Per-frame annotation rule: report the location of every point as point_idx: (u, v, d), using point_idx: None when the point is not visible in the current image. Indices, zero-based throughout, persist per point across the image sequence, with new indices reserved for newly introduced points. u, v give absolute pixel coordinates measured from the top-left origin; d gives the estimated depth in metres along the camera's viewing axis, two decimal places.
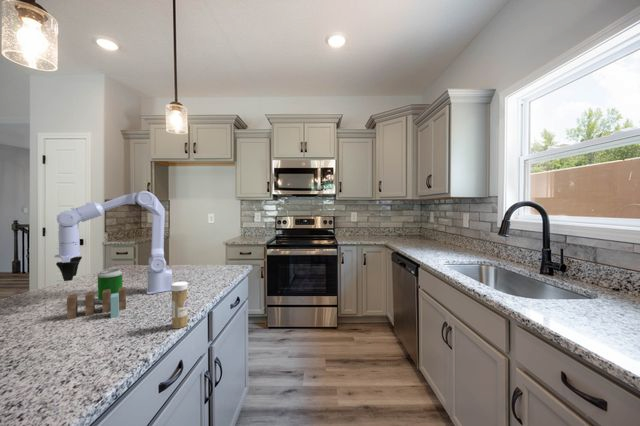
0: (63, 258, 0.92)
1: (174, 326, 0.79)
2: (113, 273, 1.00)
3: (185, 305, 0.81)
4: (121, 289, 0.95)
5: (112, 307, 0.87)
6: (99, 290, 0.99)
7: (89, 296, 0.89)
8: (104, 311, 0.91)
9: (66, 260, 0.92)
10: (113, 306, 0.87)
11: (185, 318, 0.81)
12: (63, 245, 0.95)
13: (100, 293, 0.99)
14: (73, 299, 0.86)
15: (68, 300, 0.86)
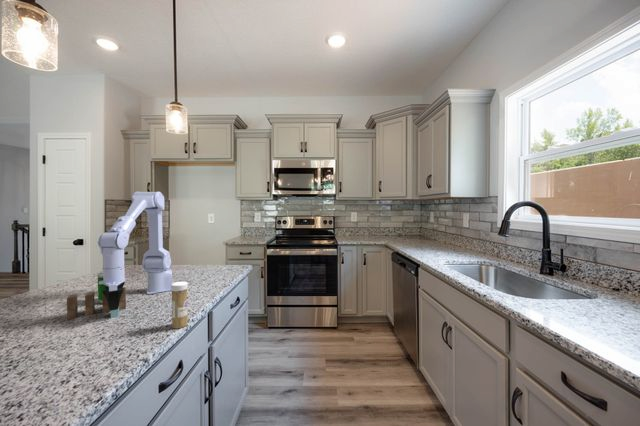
0: (110, 286, 0.83)
1: (174, 326, 0.79)
2: None
3: (185, 305, 0.81)
4: None
5: None
6: (99, 290, 0.99)
7: (89, 296, 0.89)
8: (104, 311, 0.91)
9: (113, 288, 0.83)
10: None
11: (185, 318, 0.81)
12: (109, 270, 0.86)
13: (100, 293, 0.99)
14: (73, 299, 0.86)
15: (68, 300, 0.86)
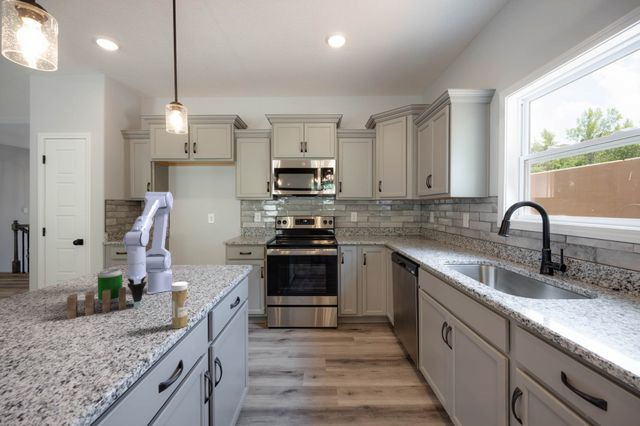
0: (135, 280, 0.92)
1: (174, 326, 0.79)
2: (113, 273, 1.00)
3: (185, 305, 0.81)
4: (121, 289, 0.95)
5: None
6: (99, 290, 0.99)
7: (89, 296, 0.89)
8: (104, 311, 0.91)
9: (137, 281, 0.93)
10: None
11: (185, 318, 0.81)
12: (132, 265, 0.95)
13: (100, 293, 0.99)
14: (73, 299, 0.86)
15: (68, 300, 0.86)
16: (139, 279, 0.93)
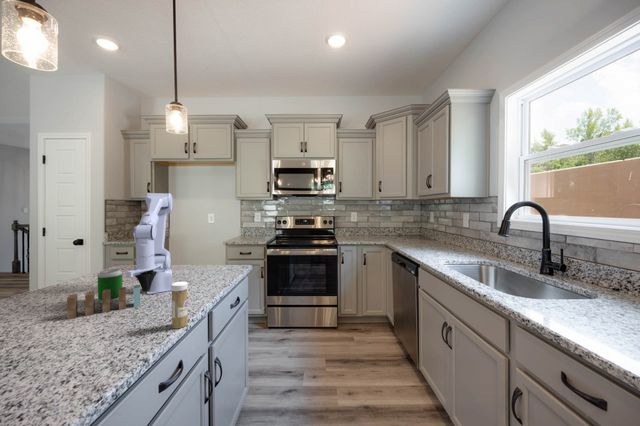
0: (127, 272, 0.93)
1: (174, 326, 0.79)
2: (113, 273, 1.00)
3: (185, 305, 0.81)
4: (121, 289, 0.95)
5: (135, 297, 0.96)
6: (99, 290, 0.99)
7: (89, 296, 0.89)
8: (104, 311, 0.91)
9: (128, 275, 0.93)
10: (135, 296, 0.96)
11: (185, 318, 0.81)
12: (137, 258, 0.97)
13: (100, 293, 0.99)
14: (73, 299, 0.86)
15: (68, 300, 0.86)
16: (130, 273, 0.93)
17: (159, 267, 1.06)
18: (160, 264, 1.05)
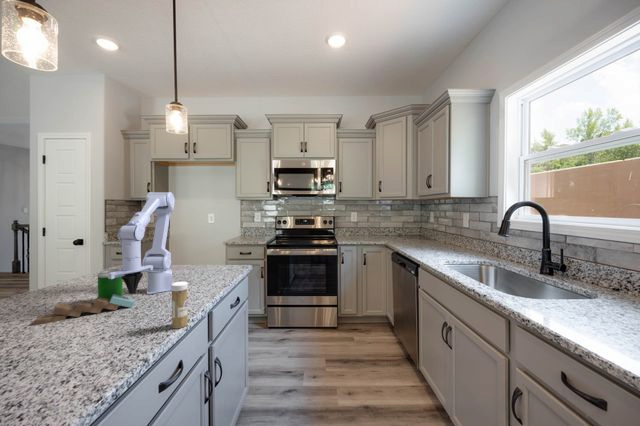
0: (108, 274, 0.91)
1: (174, 326, 0.79)
2: None
3: (185, 305, 0.81)
4: (94, 302, 0.91)
5: (121, 304, 0.94)
6: (99, 290, 0.99)
7: (55, 310, 0.84)
8: (98, 311, 0.90)
9: (109, 276, 0.91)
10: (120, 303, 0.94)
11: (185, 318, 0.81)
12: (122, 259, 0.95)
13: (100, 293, 0.99)
14: (37, 321, 0.82)
15: None
16: (110, 274, 0.91)
17: (149, 269, 1.03)
18: (149, 266, 1.02)
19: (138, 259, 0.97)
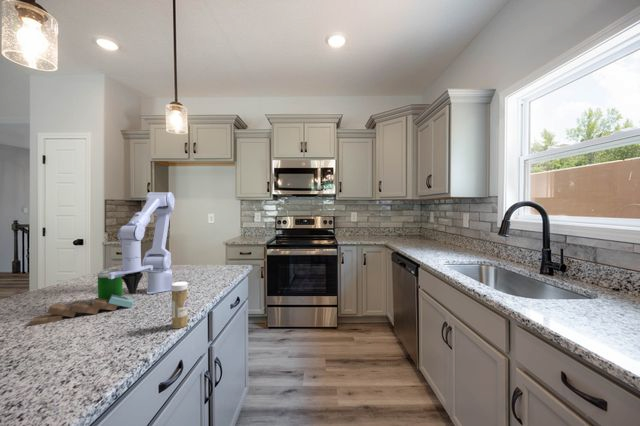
0: (108, 274, 0.91)
1: (174, 326, 0.79)
2: None
3: (185, 305, 0.81)
4: (93, 303, 0.91)
5: (120, 304, 0.94)
6: (99, 290, 0.99)
7: (50, 310, 0.84)
8: (95, 312, 0.90)
9: (109, 276, 0.91)
10: (119, 303, 0.94)
11: (185, 318, 0.81)
12: (122, 259, 0.95)
13: (100, 293, 0.99)
14: (33, 322, 0.81)
15: None
16: (110, 274, 0.91)
17: (149, 269, 1.03)
18: (149, 266, 1.02)
19: (138, 259, 0.97)
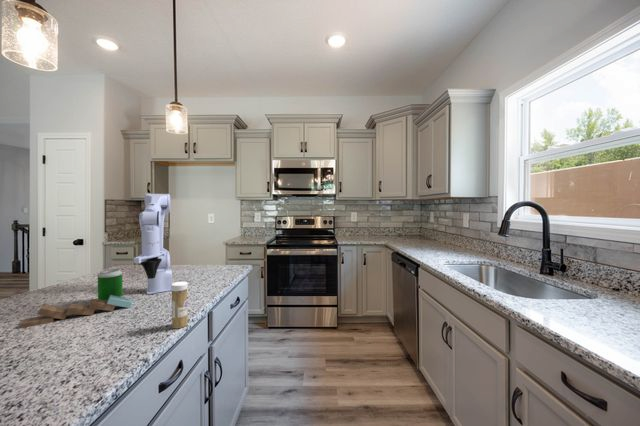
0: (134, 259, 0.92)
1: (174, 326, 0.79)
2: (113, 273, 1.00)
3: (185, 305, 0.81)
4: (90, 304, 0.90)
5: (118, 304, 0.94)
6: (99, 290, 0.99)
7: (40, 311, 0.82)
8: (91, 313, 0.89)
9: (136, 261, 0.92)
10: (117, 304, 0.94)
11: (185, 318, 0.81)
12: (142, 245, 0.97)
13: (100, 293, 0.99)
14: (23, 324, 0.80)
15: None
16: (138, 259, 0.92)
17: (162, 255, 1.05)
18: (164, 251, 1.05)
19: (159, 244, 1.00)
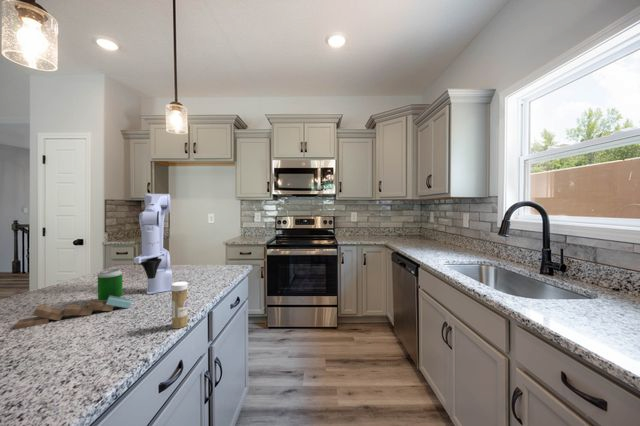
0: (134, 259, 0.92)
1: (174, 326, 0.79)
2: (113, 273, 1.00)
3: (185, 305, 0.81)
4: None
5: (117, 305, 0.93)
6: (99, 290, 0.99)
7: (36, 312, 0.82)
8: (89, 313, 0.89)
9: (136, 261, 0.92)
10: (117, 304, 0.93)
11: (185, 318, 0.81)
12: (142, 245, 0.97)
13: (100, 293, 0.99)
14: (17, 325, 0.79)
15: None
16: (138, 259, 0.92)
17: (162, 255, 1.05)
18: (164, 251, 1.05)
19: (159, 244, 1.00)
